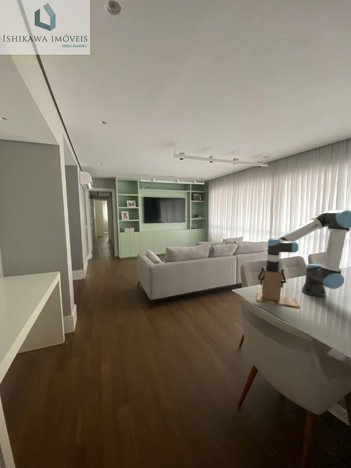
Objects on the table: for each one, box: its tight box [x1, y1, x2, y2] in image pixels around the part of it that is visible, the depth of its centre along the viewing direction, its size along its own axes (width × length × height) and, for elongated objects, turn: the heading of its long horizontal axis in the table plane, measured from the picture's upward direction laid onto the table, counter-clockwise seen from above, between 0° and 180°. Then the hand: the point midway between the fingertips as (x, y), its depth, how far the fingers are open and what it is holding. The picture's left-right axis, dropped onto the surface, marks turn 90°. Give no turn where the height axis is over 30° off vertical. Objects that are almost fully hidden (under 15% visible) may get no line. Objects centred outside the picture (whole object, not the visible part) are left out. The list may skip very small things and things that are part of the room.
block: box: [261, 269, 283, 301], centre depth 138 cm, size 10×10×20 cm
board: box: [256, 292, 301, 309], centre depth 138 cm, size 26×13×1 cm, turn 68°
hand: (271, 290), depth 138 cm, fingers closed on block, 11 cm apart
